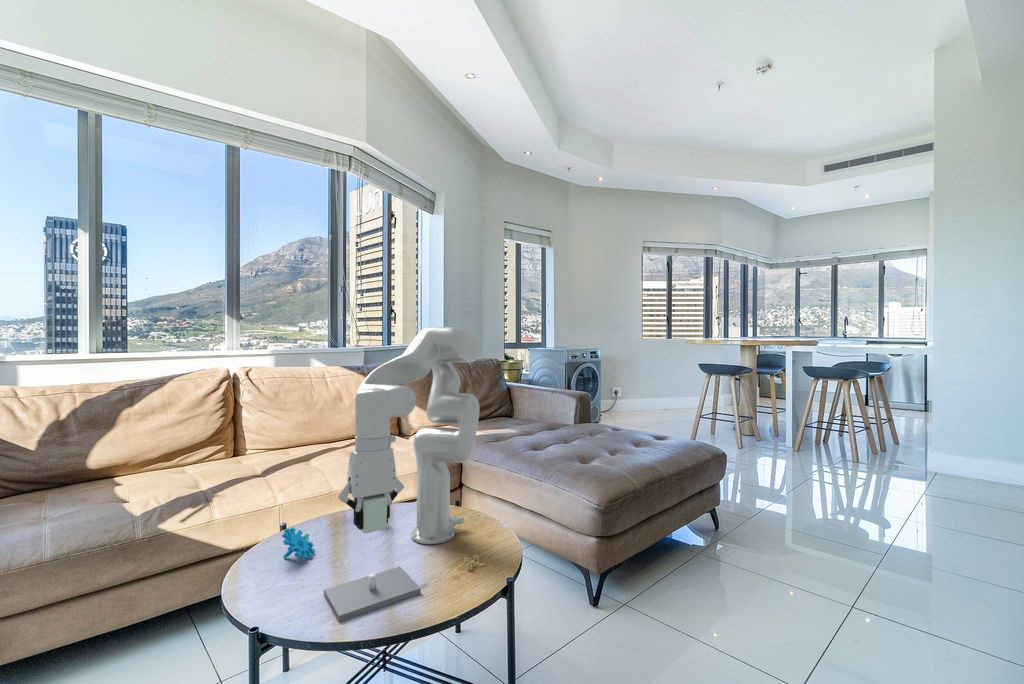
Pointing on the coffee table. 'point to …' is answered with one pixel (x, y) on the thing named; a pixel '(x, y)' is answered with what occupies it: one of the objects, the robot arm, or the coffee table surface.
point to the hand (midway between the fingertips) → (371, 523)
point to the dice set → (472, 562)
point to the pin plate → (370, 593)
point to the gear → (298, 543)
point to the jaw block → (374, 513)
